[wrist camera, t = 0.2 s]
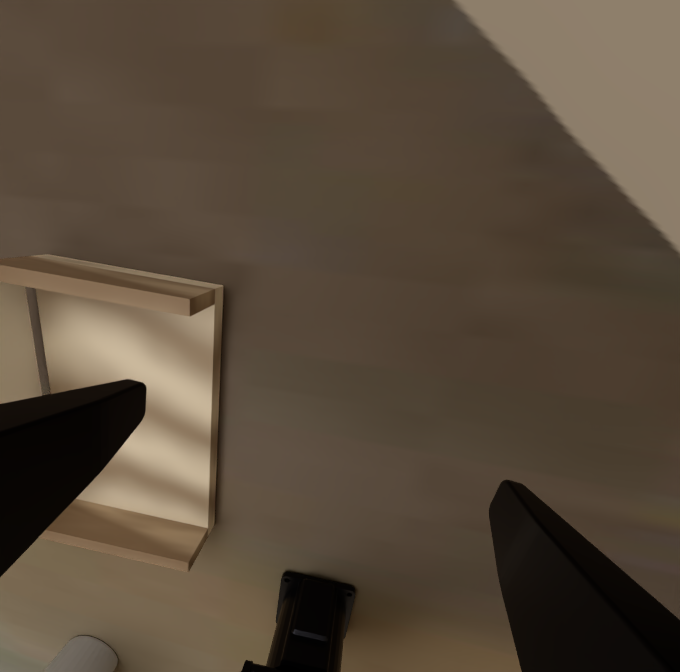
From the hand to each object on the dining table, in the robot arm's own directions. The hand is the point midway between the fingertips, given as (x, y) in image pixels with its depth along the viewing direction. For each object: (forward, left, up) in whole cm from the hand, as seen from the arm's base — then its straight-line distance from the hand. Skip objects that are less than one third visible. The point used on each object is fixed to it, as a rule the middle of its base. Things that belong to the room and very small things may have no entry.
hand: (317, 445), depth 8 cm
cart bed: (-11, +15, -14) cm, 23 cm away
